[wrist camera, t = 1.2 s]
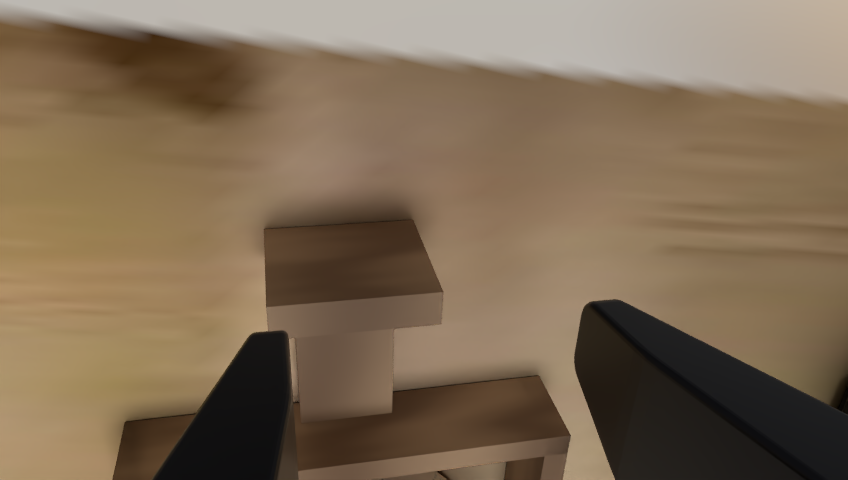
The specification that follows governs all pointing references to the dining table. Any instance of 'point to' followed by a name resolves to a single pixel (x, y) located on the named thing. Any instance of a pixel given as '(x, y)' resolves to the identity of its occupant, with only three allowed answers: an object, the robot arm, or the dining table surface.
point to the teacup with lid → (418, 477)
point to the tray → (374, 370)
